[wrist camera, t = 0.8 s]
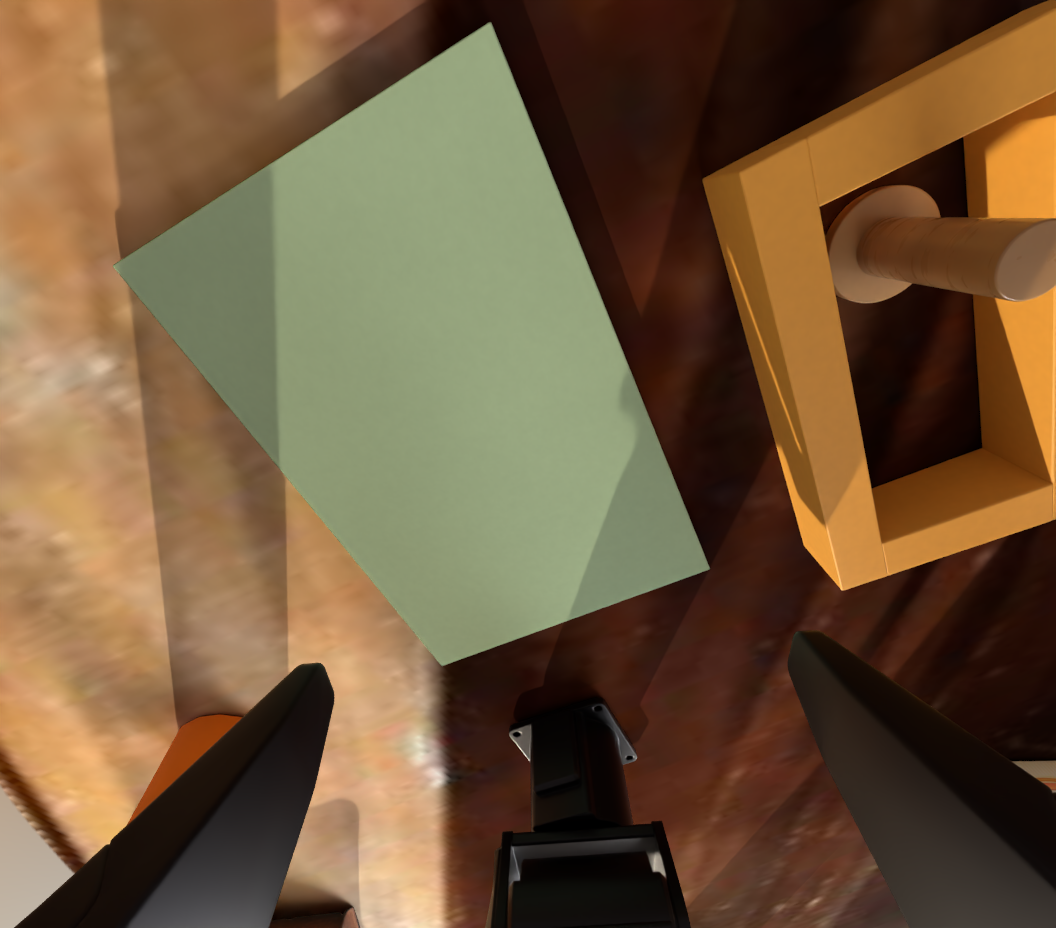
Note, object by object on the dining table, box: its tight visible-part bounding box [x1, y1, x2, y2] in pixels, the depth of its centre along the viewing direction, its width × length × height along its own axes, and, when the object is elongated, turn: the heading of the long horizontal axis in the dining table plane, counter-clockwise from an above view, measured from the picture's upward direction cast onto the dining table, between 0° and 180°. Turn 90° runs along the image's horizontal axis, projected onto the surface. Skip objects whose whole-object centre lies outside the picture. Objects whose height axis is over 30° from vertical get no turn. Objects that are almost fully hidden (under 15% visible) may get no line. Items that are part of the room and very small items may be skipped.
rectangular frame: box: [702, 0, 1056, 590], centre depth 19 cm, size 18×10×3 cm, turn 26°
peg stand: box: [825, 185, 1056, 303], centre depth 15 cm, size 4×4×7 cm
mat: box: [113, 22, 710, 666], centre depth 22 cm, size 24×16×1 cm, turn 26°
